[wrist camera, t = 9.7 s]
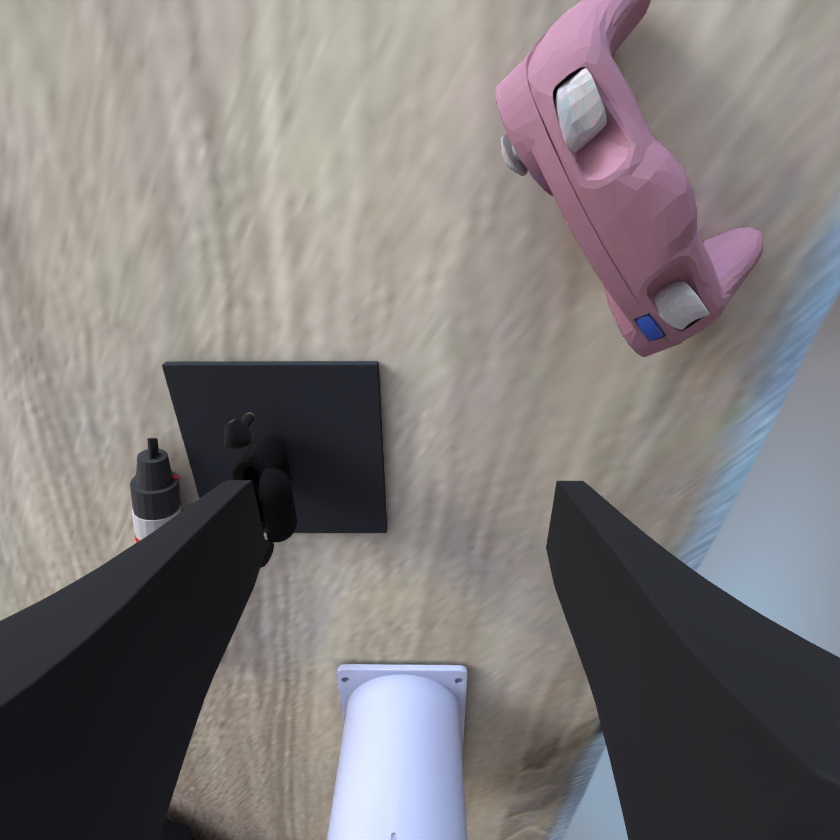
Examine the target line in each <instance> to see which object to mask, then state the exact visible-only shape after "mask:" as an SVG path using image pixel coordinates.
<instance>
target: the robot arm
mask: <svg viewBox="0 0 840 840" xmlns="http://www.w3.org/2000/svg"><path fill="white" fill-rule="evenodd" d="M265 549H266V543H265V539H264V534H263V529H262V525H261V520H260V515H259V511H258V506H257V501H256V496H255V492H254V487H253V482H252V480H226V481H225V482H223V483H222V484H220V485H218V486H217V487H215V488H214V489H212V490H211V491H210V492H208V493H207V494H205V495H204V496H203V497H201V498H200V499H198V500H197V501H196V502H194V503H193V504H191V505H190V506H189V507H187V508H186V509H185V510H183V511H182V512H180V513H179V514H178V515H176V516H175V517H173V518H172V519H170V520H169V521H168V522H166V523H165V524H163V525H162V526H161V527H159V528H158V529H156V530H155V531H154V532H152V533H151V534H149V535H148V536H146V537H145V538H143V539H142V540H140V541H139V542H137V543H136V544H134V545H133V546H131V547H130V548H128V549H126V550H125V551H123V552H122V553H120V554H119V555H117V556H116V557H114V558H113V559H111V560H110V561H108V562H107V563H105V564H104V565H102V566H100V567H99V568H97V569H95V570H94V571H92V572H90V573H89V574H87V575H85V576H84V577H82V578H80V579H79V580H77V581H75V582H73V583H72V584H70V585H68V586H66V587H65V588H63V589H61V590H59V591H57V592H56V593H54V594H52V595H50V596H49V597H47V598H45V599H43V600H41V601H39V602H37V603H35V604H33V605H31V606H29V607H27V608H25V609H23V610H21V611H19V612H17V613H15V614H13V615H11V616H9V617H7V618H5V619H3V620H1V621H0V840H159V839H160V836H161V832H162V829H163V826H164V822H165V819H166V815H167V812H168V808H169V805H170V802H171V799H172V796H173V792H174V789H175V786H176V783H177V780H178V777H179V774H180V770H181V767H182V764H183V761H184V758H185V755H186V752H187V748H188V746H189V743H190V740H191V737H192V734H193V731H194V728H195V725H196V722H197V719H198V716H199V713H200V711H201V708H202V705H203V702H204V699H205V697H206V694H207V692H208V689H209V687H210V684H211V682H212V679H213V677H214V675H215V672H216V670H217V668H218V666H219V664H220V661H221V659H222V657H223V655H224V653H225V650H226V648H227V646H228V644H229V642H230V639H231V637H232V635H233V633H234V631H235V628H236V626H237V624H238V622H239V620H240V617H241V615H242V613H243V611H244V608H245V606H246V604H247V602H248V599H249V597H250V595H251V592H252V590H253V588H254V585H255V582H256V579H257V576H258V573H259V570H260V566H261V563H262V559H263V556H264V552H265ZM546 549H547V554H548V558H549V563H550V568H551V572H552V577H553V581H554V585H555V589H556V592H557V595H558V597H559V600H560V603H561V606H562V609H563V612H564V614H565V617H566V620H567V623H568V626H569V628H570V631H571V634H572V637H573V639H574V642H575V645H576V648H577V651H578V653H579V656H580V659H581V662H582V664H583V667H584V670H585V673H586V675H587V678H588V681H589V684H590V687H591V691H592V694H593V697H594V700H595V703H596V707H597V711H598V715H599V719H600V723H601V726H602V730H603V734H604V738H605V742H606V746H607V750H608V754H609V758H610V762H611V766H612V770H613V774H614V779H615V783H616V787H617V791H618V795H619V799H620V804H621V808H622V812H623V817H624V821H625V826H626V830H627V835H628V839H629V840H840V658H839V657H837V656H835V655H833V654H832V653H830V652H828V651H826V650H824V649H822V648H820V647H818V646H816V645H814V644H813V643H811V642H809V641H807V640H805V639H803V638H802V637H800V636H798V635H796V634H795V633H793V632H791V631H789V630H788V629H786V628H784V627H782V626H780V625H779V624H777V623H775V622H773V621H772V620H770V619H768V618H766V617H765V616H763V615H761V614H760V613H758V612H757V611H755V610H753V609H751V608H750V607H748V606H747V605H745V604H743V603H742V602H740V601H739V600H737V599H736V598H734V597H733V596H731V595H729V594H728V593H726V592H725V591H723V590H722V589H720V588H718V587H717V586H715V585H714V584H712V583H711V582H710V581H708V580H707V579H705V578H704V577H702V576H701V575H699V574H698V573H697V572H695V571H694V570H692V569H691V568H690V567H688V566H687V565H686V564H684V563H683V562H682V561H680V560H679V559H677V558H676V557H675V556H673V555H672V554H671V553H669V552H668V551H667V550H665V549H664V548H663V547H662V546H660V545H659V544H658V543H656V542H655V541H654V540H653V539H651V538H650V537H649V536H648V535H646V534H645V533H644V532H643V531H642V530H640V529H639V528H638V527H637V526H636V525H634V524H633V523H632V522H631V521H630V520H628V519H627V518H626V517H625V516H624V515H622V514H621V513H620V512H619V511H618V510H617V509H616V508H614V507H613V506H612V505H611V504H610V503H609V502H607V501H606V500H605V499H604V498H603V497H602V496H600V495H599V494H598V493H597V492H596V491H595V490H593V489H592V488H591V487H590V486H589V485H587V484H586V483H585V482H584V481H557V483H556V489H555V495H554V502H553V508H552V514H551V521H550V527H549V533H548V539H547V546H546ZM467 677H468V674H467V668H466V667H465V666H462V665H400V664H342V665H340V666H339V667H338V670H337V679H338V686H339V693H340V700H341V707H342V714H343V721H344V731H343V738H342V744H341V751H340V758H339V764H338V771H337V777H336V784H335V790H334V797H333V803H332V810H331V816H330V823H329V829H328V836H327V840H467V827H466V811H465V795H464V779H463V762H462V753H463V739H464V723H465V708H466V692H467Z"/></svg>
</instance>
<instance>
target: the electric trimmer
mask: <svg viewBox="0 0 840 840" xmlns="http://www.w3.org/2000/svg"><path fill="white" fill-rule="evenodd" d="M159 840H199V839H197V838H195V837H193V836H192V833H191V830H190V828H189V827H187V826H185V825H183V824H180V823H177V822H175V821H172V820H170V819H167V818H166V819H165V822H164V826H163V829H162V832H161V836H160V839H159Z"/></svg>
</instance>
